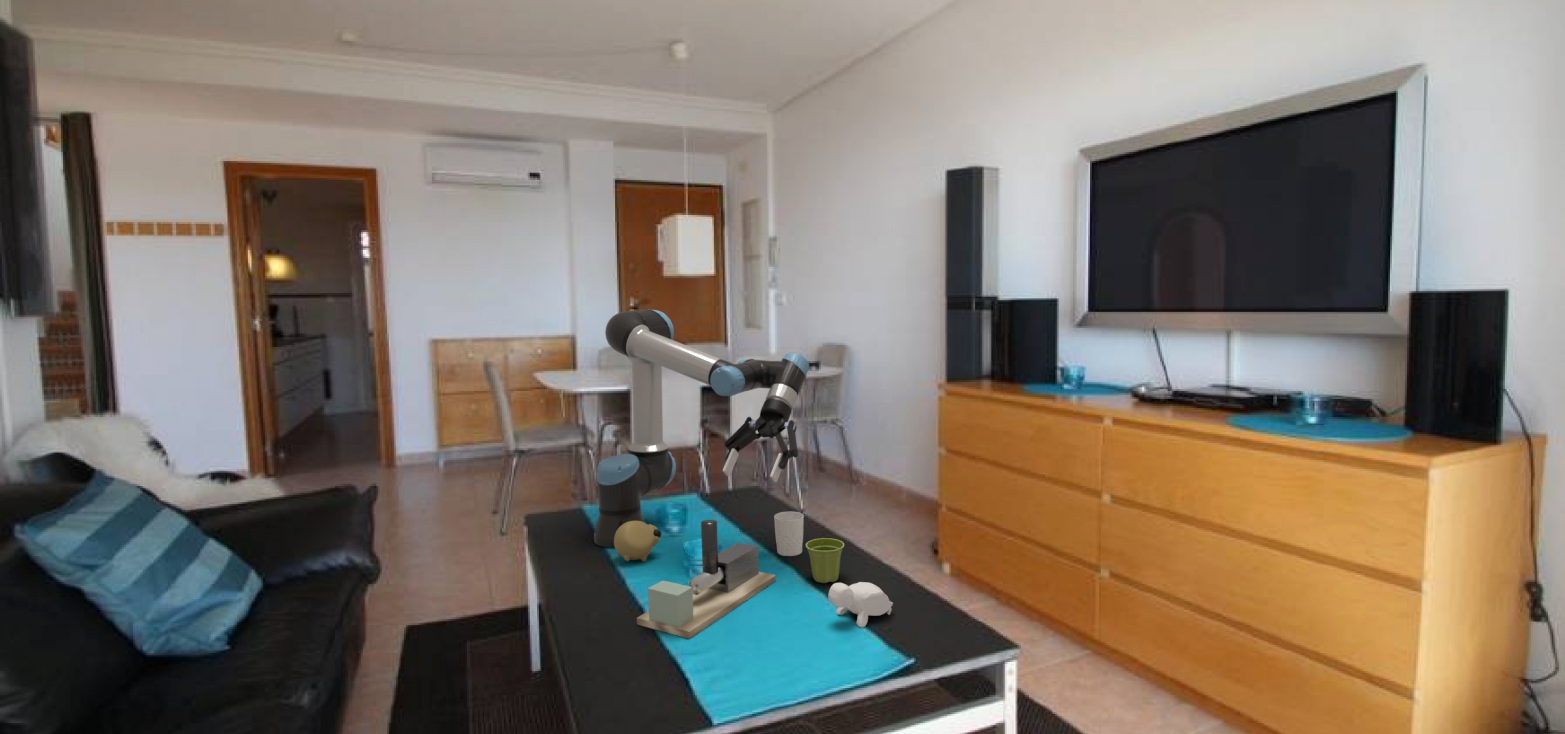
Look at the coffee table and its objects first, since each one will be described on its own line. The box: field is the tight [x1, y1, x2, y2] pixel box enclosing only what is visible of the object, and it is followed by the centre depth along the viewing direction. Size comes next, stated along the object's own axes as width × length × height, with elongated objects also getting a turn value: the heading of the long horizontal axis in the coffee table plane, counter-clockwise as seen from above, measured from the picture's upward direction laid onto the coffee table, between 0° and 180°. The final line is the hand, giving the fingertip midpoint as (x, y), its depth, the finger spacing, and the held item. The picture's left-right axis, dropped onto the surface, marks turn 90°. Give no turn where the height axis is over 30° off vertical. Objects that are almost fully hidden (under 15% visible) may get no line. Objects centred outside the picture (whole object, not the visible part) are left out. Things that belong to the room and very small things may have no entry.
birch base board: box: [636, 571, 776, 640], centre depth 174 cm, size 14×34×2 cm, turn 149°
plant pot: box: [805, 537, 845, 584], centre depth 185 cm, size 9×9×9 cm
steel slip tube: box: [687, 519, 726, 595], centre depth 177 cm, size 4×21×15 cm, turn 149°
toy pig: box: [614, 521, 662, 563], centre depth 201 cm, size 10×12×11 cm
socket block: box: [647, 580, 694, 628], centre depth 161 cm, size 8×5×7 cm, turn 59°
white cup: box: [773, 511, 805, 557], centre depth 204 cm, size 8×8×10 cm
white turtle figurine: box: [827, 581, 894, 629], centre depth 164 cm, size 9×8×15 cm
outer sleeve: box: [710, 542, 760, 593], centre depth 182 cm, size 6×13×7 cm, turn 149°
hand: (749, 476), depth 185 cm, fingers open, 13 cm apart
